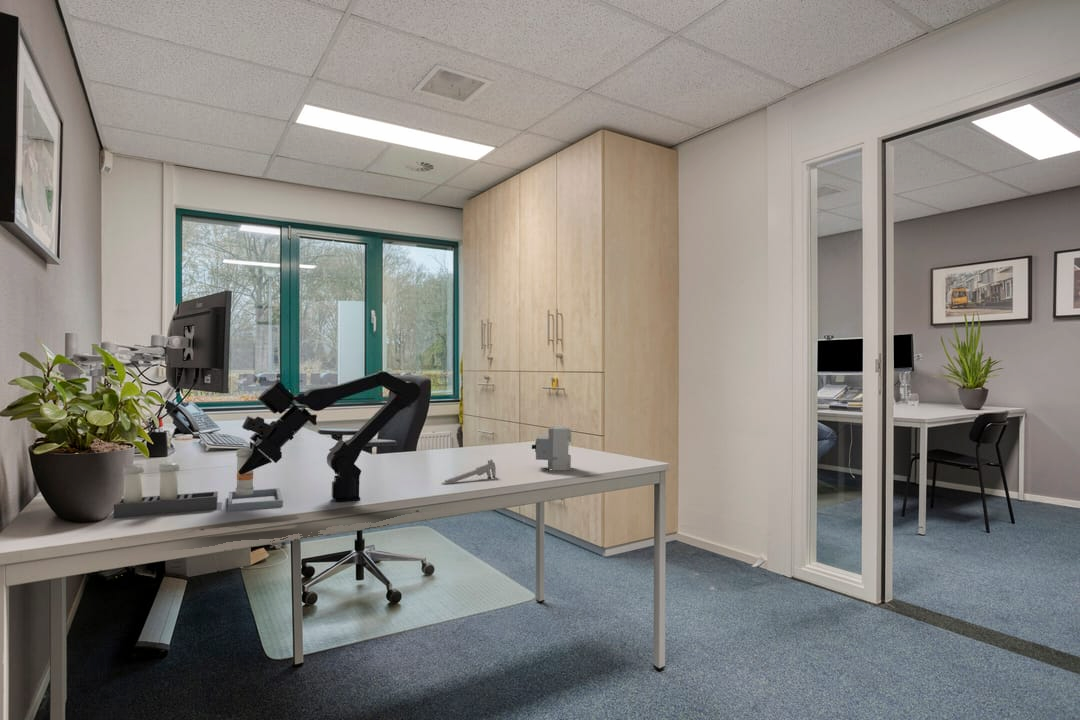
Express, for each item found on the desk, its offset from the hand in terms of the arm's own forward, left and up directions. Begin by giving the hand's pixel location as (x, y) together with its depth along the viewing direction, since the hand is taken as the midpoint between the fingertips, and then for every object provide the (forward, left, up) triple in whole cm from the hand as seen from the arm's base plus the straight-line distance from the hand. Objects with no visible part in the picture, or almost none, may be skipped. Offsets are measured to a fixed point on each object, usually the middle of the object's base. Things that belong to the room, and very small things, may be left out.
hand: (238, 472), depth 144 cm
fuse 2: (+15, +1, -8) cm, 17 cm away
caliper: (-66, -12, -10) cm, 68 cm away
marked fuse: (-1, 0, -6) cm, 6 cm away
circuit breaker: (-101, -22, -10) cm, 104 cm away
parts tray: (-4, -1, -9) cm, 10 cm away
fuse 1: (+22, +1, -8) cm, 23 cm away
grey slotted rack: (+15, +1, -9) cm, 17 cm away
